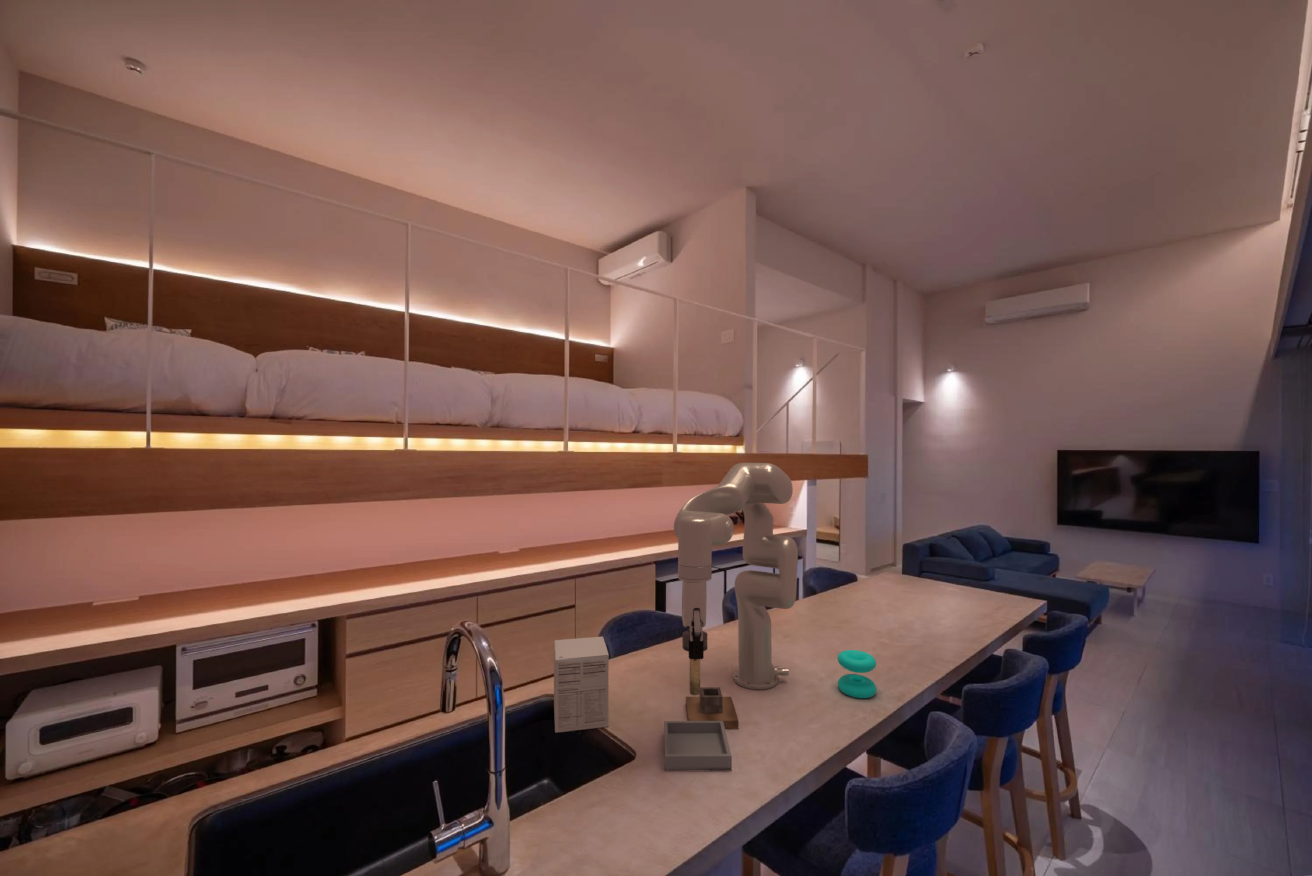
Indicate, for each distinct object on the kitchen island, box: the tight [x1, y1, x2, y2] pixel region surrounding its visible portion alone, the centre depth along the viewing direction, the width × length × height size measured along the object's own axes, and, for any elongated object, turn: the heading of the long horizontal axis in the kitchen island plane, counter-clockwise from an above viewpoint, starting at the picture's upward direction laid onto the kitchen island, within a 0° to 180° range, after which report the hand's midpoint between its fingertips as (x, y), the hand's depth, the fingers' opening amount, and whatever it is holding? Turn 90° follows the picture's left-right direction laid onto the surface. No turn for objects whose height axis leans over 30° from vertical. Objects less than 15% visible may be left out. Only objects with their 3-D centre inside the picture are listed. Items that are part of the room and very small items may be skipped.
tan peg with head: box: [681, 629, 708, 696], centre depth 115 cm, size 6×6×13 cm
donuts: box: [837, 649, 877, 699], centre depth 143 cm, size 10×10×10 cm
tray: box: [663, 720, 733, 772], centre depth 115 cm, size 14×14×3 cm
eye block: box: [685, 686, 740, 730], centre depth 130 cm, size 12×12×6 cm
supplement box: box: [553, 636, 610, 733], centre depth 130 cm, size 13×13×18 cm
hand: (695, 652), depth 115 cm, fingers closed on tan peg with head, 5 cm apart
